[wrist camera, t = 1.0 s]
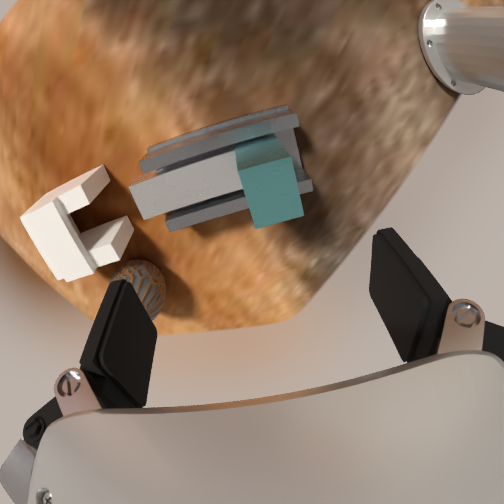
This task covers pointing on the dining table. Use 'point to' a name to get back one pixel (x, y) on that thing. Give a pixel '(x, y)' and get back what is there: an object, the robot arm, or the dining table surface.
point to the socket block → (75, 229)
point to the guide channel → (217, 137)
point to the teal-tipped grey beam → (226, 181)
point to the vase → (144, 284)
